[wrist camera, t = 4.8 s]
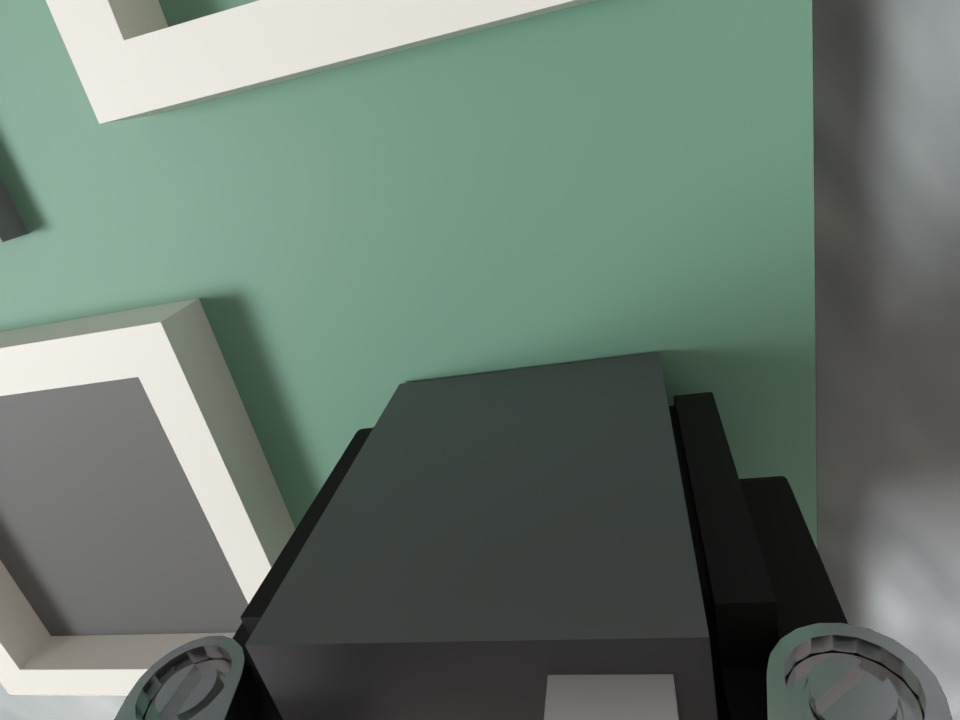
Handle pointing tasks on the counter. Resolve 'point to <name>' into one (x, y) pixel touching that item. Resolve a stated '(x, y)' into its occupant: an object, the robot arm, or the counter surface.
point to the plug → (501, 560)
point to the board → (359, 266)
